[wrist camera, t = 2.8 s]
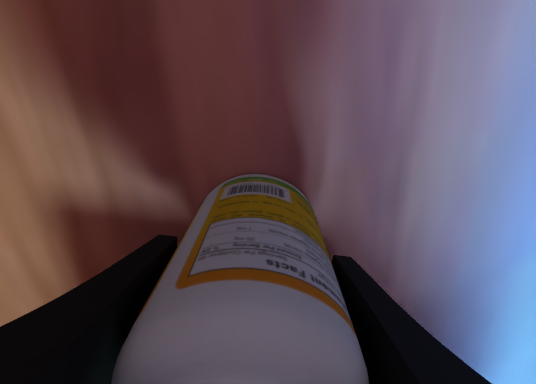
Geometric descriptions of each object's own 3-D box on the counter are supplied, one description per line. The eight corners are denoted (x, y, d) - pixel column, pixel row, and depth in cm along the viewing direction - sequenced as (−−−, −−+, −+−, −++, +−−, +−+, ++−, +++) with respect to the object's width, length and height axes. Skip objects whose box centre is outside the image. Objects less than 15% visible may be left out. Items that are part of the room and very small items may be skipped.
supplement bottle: (250, 288, 13) (207, 717, 4) (174, 217, 12) (-150, 671, 3) (338, 234, 12) (543, 698, 3) (266, 144, 10) (236, 584, 1)
